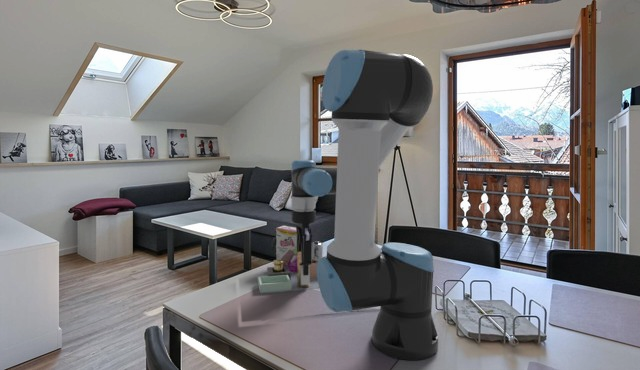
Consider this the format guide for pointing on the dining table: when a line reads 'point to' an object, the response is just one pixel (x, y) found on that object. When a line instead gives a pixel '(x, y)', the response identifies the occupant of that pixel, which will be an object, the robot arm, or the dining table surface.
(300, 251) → the copper cell
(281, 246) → the candy bar box
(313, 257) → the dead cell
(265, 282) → the battery sorting tray
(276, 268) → the brass short cylinder
